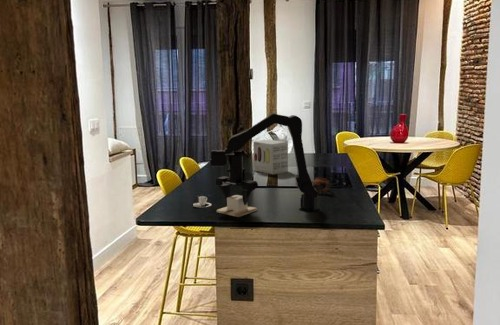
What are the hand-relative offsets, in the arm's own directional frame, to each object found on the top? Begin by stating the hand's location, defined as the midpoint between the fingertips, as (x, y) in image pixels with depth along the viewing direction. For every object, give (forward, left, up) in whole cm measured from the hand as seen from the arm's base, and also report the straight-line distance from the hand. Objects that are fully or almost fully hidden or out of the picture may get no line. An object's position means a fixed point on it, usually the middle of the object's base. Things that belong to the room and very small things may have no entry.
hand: (236, 203), depth 194 cm
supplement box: (+41, -79, -4) cm, 89 cm away
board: (0, 0, -4) cm, 4 cm away
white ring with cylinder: (+22, +3, -4) cm, 22 cm away
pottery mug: (-11, -49, -4) cm, 51 cm away
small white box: (0, 0, -2) cm, 3 cm away
